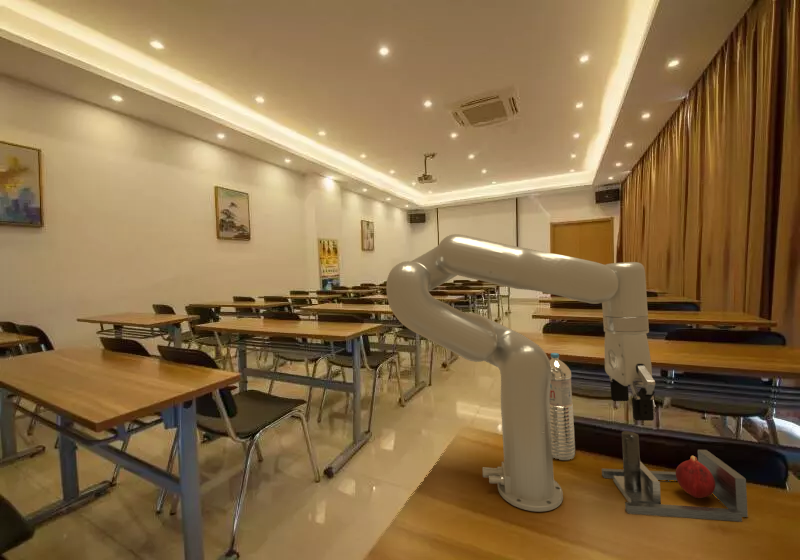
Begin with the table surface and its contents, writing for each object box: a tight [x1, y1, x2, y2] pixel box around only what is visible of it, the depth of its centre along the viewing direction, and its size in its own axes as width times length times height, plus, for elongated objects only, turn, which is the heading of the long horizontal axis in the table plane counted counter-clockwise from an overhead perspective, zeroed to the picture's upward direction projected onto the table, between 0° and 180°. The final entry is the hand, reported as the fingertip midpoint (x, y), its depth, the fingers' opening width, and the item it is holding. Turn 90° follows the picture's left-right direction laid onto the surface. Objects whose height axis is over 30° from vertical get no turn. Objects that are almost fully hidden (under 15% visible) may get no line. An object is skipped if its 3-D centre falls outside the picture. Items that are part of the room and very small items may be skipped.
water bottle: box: [549, 352, 576, 461], centre depth 84 cm, size 7×7×25 cm
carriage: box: [612, 430, 662, 504], centre depth 68 cm, size 5×8×12 cm, turn 169°
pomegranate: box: [675, 455, 715, 499], centre depth 66 cm, size 6×6×8 cm
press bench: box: [601, 449, 749, 522], centre depth 67 cm, size 20×12×7 cm, turn 79°
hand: (631, 409), depth 68 cm, fingers open, 9 cm apart
